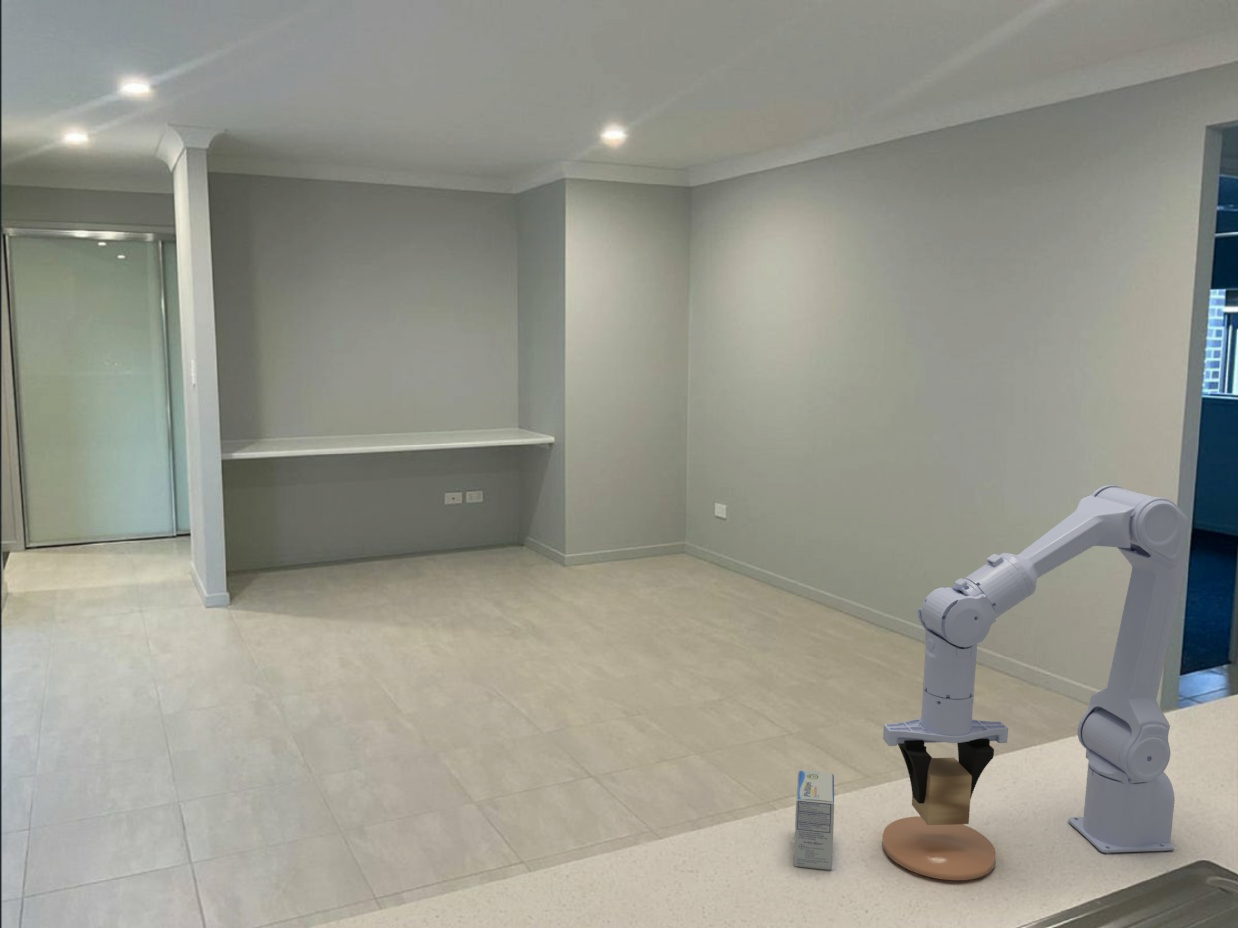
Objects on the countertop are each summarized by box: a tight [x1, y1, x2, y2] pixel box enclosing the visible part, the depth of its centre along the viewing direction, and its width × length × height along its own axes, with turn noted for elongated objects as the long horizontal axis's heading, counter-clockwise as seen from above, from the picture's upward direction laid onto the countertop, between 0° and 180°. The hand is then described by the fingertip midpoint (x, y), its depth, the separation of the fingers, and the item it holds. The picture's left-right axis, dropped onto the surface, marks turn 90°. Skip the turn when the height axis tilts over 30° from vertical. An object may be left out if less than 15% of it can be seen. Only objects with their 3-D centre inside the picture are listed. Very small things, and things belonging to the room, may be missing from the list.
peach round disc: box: [881, 816, 997, 881], centre depth 120 cm, size 13×13×1 cm
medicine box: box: [794, 770, 835, 871], centre depth 120 cm, size 8×4×9 cm, turn 168°
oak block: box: [911, 757, 972, 825], centre depth 119 cm, size 5×5×6 cm
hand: (941, 798), depth 119 cm, fingers closed on oak block, 5 cm apart
